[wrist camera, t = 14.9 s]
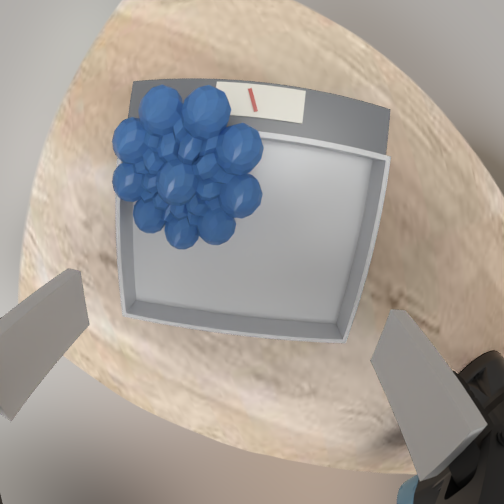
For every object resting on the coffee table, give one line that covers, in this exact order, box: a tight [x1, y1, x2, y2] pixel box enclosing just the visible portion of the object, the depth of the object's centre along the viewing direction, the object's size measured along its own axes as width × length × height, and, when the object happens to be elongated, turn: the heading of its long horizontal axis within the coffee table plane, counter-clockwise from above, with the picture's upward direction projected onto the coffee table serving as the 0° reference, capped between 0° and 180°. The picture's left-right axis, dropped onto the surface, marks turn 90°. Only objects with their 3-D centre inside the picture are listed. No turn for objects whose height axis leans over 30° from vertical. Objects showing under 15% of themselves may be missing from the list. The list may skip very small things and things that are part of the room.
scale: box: [116, 79, 391, 343], centre depth 22 cm, size 22×21×6 cm
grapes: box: [112, 84, 264, 250], centre depth 18 cm, size 12×7×12 cm
